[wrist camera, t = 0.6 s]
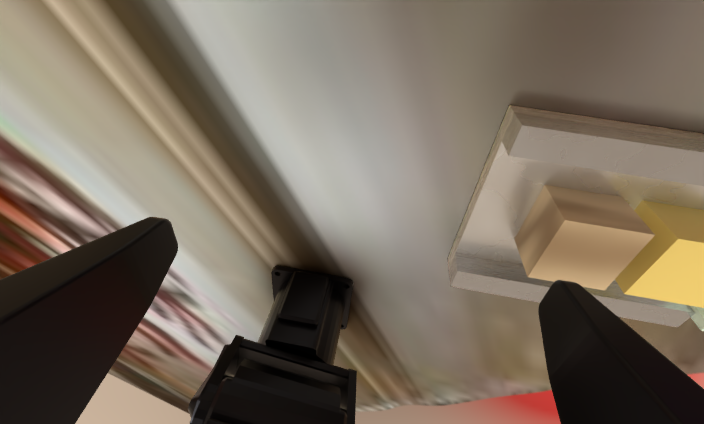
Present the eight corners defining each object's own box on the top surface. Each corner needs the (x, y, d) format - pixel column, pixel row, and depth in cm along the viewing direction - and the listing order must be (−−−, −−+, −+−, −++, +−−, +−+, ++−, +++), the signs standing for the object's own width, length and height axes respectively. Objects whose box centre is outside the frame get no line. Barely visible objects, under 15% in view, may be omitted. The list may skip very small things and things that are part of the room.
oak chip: (581, 250, 20) (604, 290, 17) (514, 239, 20) (527, 277, 18) (622, 197, 17) (655, 235, 15) (544, 184, 17) (564, 220, 15)
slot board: (654, 294, 22) (677, 327, 20) (447, 258, 23) (450, 286, 21) (811, 149, 15) (869, 177, 13) (509, 104, 16) (522, 125, 14)
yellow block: (668, 265, 19) (703, 307, 17) (598, 253, 20) (623, 293, 17) (722, 212, 17) (772, 254, 15) (642, 200, 17) (678, 238, 15)
